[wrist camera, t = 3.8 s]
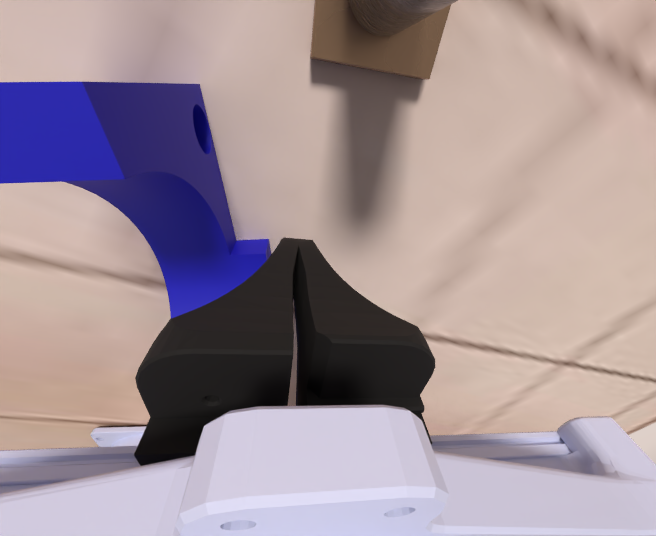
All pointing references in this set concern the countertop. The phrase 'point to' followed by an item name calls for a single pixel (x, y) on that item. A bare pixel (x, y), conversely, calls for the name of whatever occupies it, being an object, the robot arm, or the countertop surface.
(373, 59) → the post
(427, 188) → the countertop surface
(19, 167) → the cable clip
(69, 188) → the countertop surface
